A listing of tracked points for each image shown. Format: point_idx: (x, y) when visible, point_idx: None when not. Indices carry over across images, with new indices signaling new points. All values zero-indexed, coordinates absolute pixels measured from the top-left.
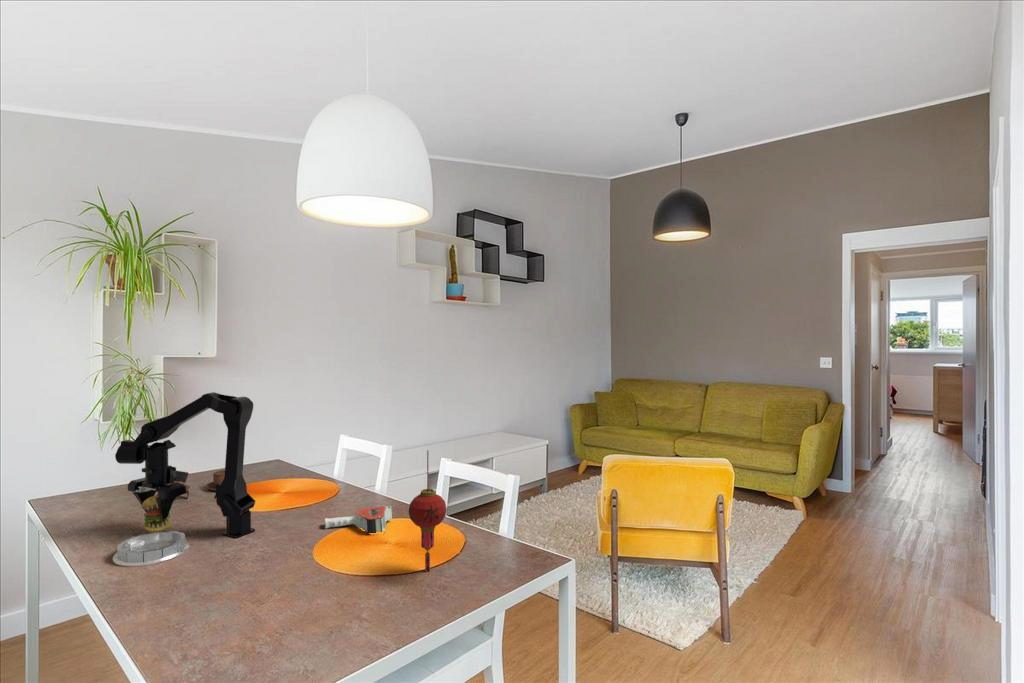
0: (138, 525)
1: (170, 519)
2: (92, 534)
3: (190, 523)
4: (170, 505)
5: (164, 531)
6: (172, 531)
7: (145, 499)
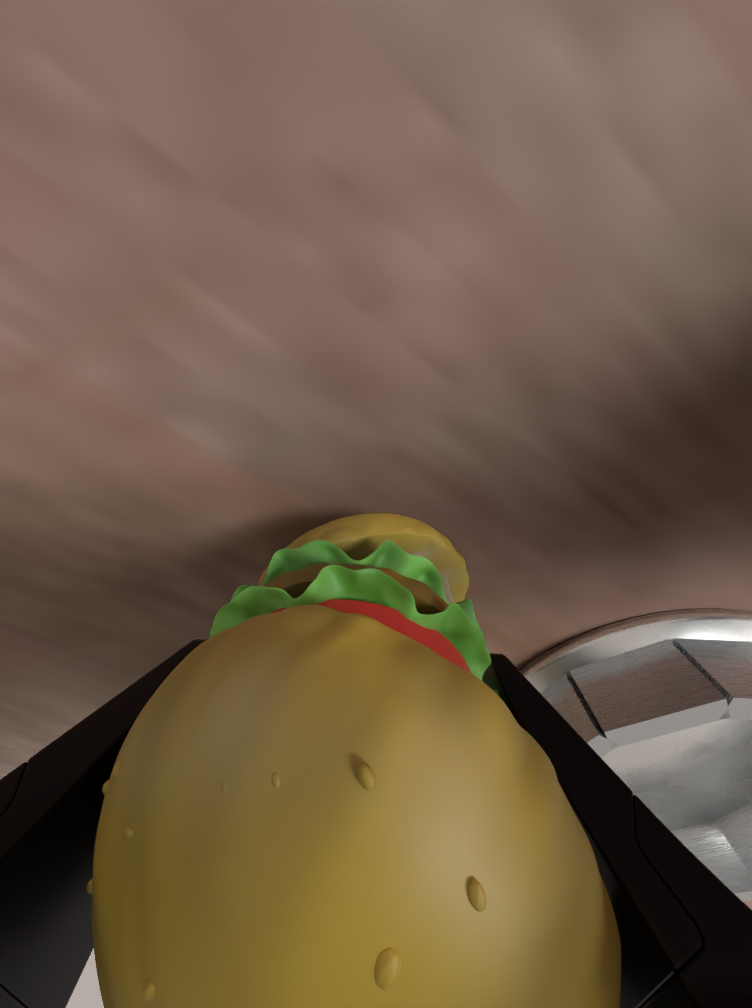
0: (72, 525)
1: (420, 538)
2: (54, 708)
3: (428, 282)
4: (657, 844)
5: (641, 725)
6: (715, 709)
7: (35, 975)
